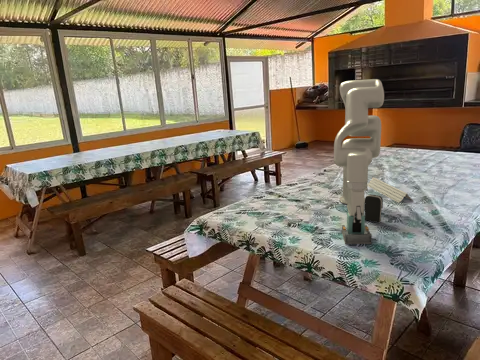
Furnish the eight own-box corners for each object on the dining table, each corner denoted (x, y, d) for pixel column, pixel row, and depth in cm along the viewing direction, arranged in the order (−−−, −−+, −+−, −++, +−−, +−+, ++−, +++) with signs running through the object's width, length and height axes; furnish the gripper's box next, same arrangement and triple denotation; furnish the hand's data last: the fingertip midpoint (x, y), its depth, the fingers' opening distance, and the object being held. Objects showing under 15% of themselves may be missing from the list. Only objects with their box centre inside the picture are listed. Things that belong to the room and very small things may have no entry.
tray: (341, 232, 143) (341, 224, 142) (366, 232, 142) (366, 224, 140) (345, 243, 134) (345, 234, 133) (371, 244, 132) (371, 234, 131)
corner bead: (414, 202, 173) (415, 192, 171) (397, 204, 171) (398, 194, 170) (380, 184, 202) (380, 176, 201) (365, 186, 201) (365, 178, 199)
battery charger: (383, 220, 152) (384, 195, 149) (379, 223, 149) (380, 197, 146) (367, 217, 157) (368, 192, 154) (363, 220, 154) (364, 195, 151)
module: (346, 228, 141) (347, 211, 139) (362, 228, 140) (362, 211, 138) (348, 233, 137) (348, 215, 135) (364, 233, 136) (365, 215, 134)
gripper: (343, 178, 142) (342, 220, 147) (349, 191, 126) (348, 238, 131) (363, 178, 141) (361, 220, 146) (371, 191, 125) (369, 238, 130)
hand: (355, 228), depth 138 cm, fingers closed on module, 4 cm apart
